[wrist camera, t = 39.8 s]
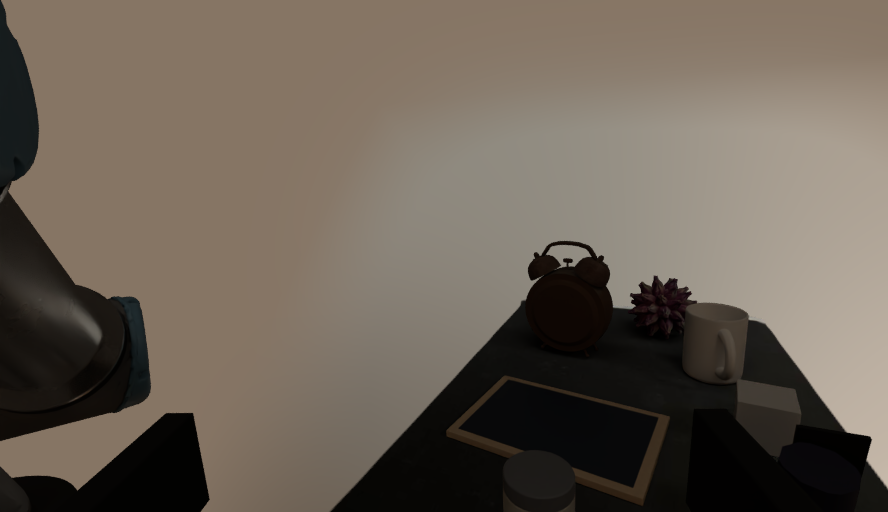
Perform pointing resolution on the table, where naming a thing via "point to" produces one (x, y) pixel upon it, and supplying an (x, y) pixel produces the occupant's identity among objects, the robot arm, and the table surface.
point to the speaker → (827, 465)
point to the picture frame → (569, 434)
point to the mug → (714, 342)
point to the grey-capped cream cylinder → (538, 483)
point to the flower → (661, 307)
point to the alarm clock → (569, 300)
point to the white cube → (767, 413)
